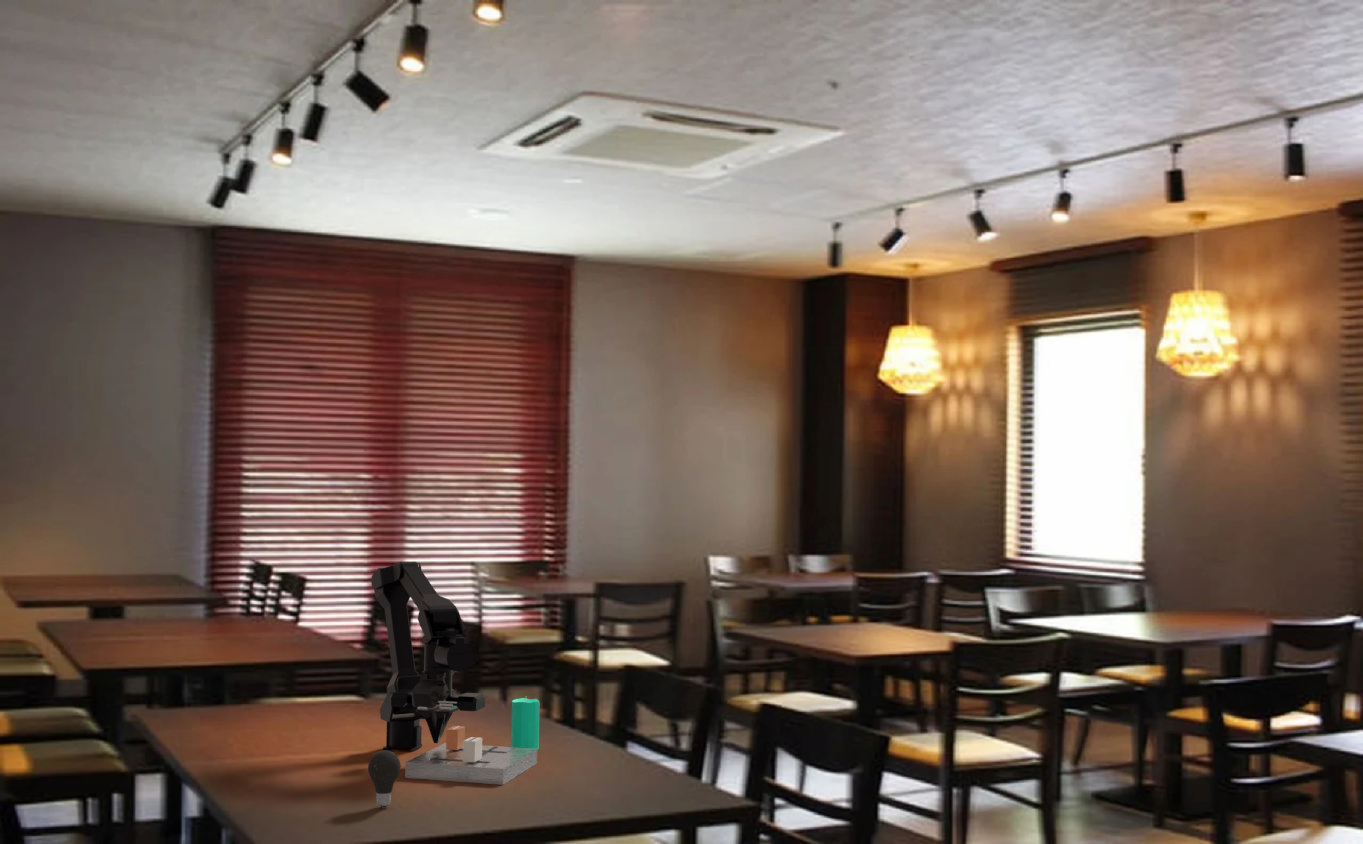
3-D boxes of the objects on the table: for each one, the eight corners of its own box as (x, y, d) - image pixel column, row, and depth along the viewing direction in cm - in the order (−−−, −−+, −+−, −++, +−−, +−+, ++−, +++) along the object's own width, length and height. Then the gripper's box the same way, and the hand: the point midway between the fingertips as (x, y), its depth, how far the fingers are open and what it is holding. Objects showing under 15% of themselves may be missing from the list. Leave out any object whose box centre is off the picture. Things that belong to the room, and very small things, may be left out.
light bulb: (369, 804, 251) (370, 747, 252) (401, 803, 252) (402, 747, 252) (365, 811, 246) (366, 753, 246) (397, 811, 246) (399, 753, 247)
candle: (534, 753, 298) (535, 696, 299) (506, 751, 300) (508, 694, 300) (542, 747, 304) (543, 691, 305) (515, 746, 306) (517, 690, 306)
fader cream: (462, 776, 273) (463, 740, 273) (470, 771, 277) (470, 736, 277) (474, 776, 272) (475, 741, 272) (481, 772, 276) (482, 737, 276)
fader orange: (445, 763, 284) (446, 729, 284) (453, 759, 288) (454, 725, 288) (457, 764, 284) (457, 729, 284) (464, 760, 288) (465, 726, 288)
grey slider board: (405, 778, 273) (405, 761, 273) (444, 757, 292) (445, 742, 292) (503, 784, 268) (503, 768, 268) (536, 763, 288) (536, 748, 288)
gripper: (378, 668, 282) (376, 747, 281) (466, 673, 277) (464, 753, 277) (401, 661, 292) (400, 737, 292) (486, 666, 288) (485, 743, 288)
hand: (436, 743), depth 287 cm, fingers closed
